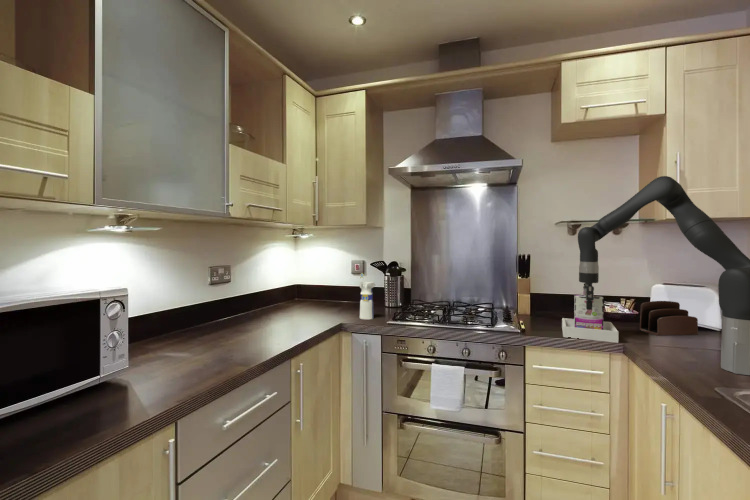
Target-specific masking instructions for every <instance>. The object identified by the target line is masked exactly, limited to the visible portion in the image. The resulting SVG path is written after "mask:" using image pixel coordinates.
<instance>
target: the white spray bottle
mask: <svg viewBox="0 0 750 500" xmlns="http://www.w3.org/2000/svg"><path fill="white" fill-rule="evenodd" d="M359 276H360V279H361V278H362V279H364V276H365V274H364V273H363V272H361V273H359ZM359 283H360V284H359V288H360V300H359V319H361V320H373V319H374V318H375V317H374V314H375V313H374V300H373V295H374V293H373V288H375V287H376V283H375V282H374V281H360V282H359Z"/></svg>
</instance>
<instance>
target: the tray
mask: <svg viewBox="0 0 750 500" xmlns="http://www.w3.org/2000/svg"><path fill="white" fill-rule="evenodd" d="M561 329H562V337H563V338H568V337H571V338H570V339H577V338H579V340H588V341H597V342H606V343H607V342H608V343H616V344H618V343H619V330H617V328H616V326H615V325H614V324H613V323H612V322H611V321H603V330H598V329H587V328H577V327H574V318H565V317H562V319H561Z"/></svg>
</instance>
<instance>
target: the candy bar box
mask: <svg viewBox="0 0 750 500" xmlns="http://www.w3.org/2000/svg"><path fill="white" fill-rule="evenodd" d="M573 296H574V297H573V298H574V306H573V307H574V308H573V310H574V311H573V313H574V315H573V316H574V317H573V319H574V327H577V328H587V329H598V330H603V322H604V313H605V312H604V310H605V309H604V299H605V298H604V296H600V295H599V296H598V295H594V296H593V298H594V300H593V301H592V310H587V309H586V297H585V296H584V295H578V294H574V295H573Z"/></svg>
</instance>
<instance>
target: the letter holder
mask: <svg viewBox="0 0 750 500" xmlns="http://www.w3.org/2000/svg"><path fill="white" fill-rule="evenodd" d="M680 306H681V305H680V302H678V301H673V300H652V301H646V302H645V301H644V302H642V303H641V304H640V308H639V309H640V311H639V313H640V315H639V318H640V319H639V331H640V330H641V332H643V333H647V334H650V335H654V336H659V337H661V336H664V337H665V336H692V335H693V336H696V335H697V336H698V334H699V332H698V331H699V330H698V329H699V327H698V325H699V320H698V318H697V316H690V315H689V311H688V310H686V309H682V308H681V307H680Z"/></svg>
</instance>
